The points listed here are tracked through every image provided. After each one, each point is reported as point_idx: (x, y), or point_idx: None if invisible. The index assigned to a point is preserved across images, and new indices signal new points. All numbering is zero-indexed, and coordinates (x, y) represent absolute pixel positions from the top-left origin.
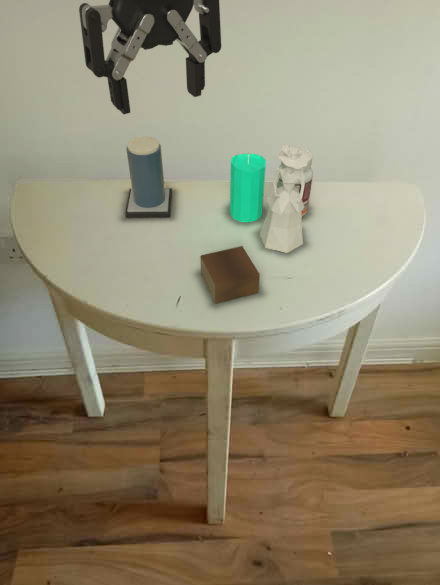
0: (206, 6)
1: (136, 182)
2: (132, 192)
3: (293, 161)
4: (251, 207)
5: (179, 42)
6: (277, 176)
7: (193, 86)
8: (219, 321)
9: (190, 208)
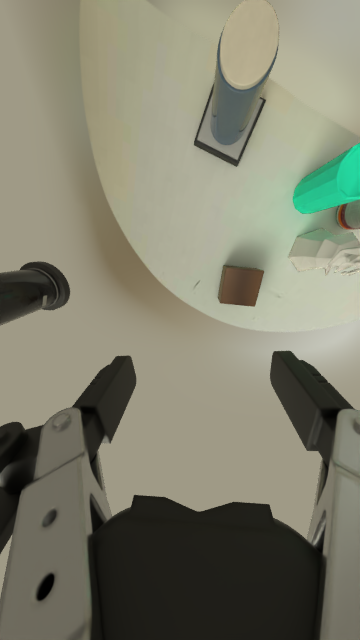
0: None
1: (215, 113)
2: None
3: None
4: (314, 210)
5: (328, 479)
6: (352, 253)
7: (279, 388)
8: (212, 311)
9: (264, 156)
